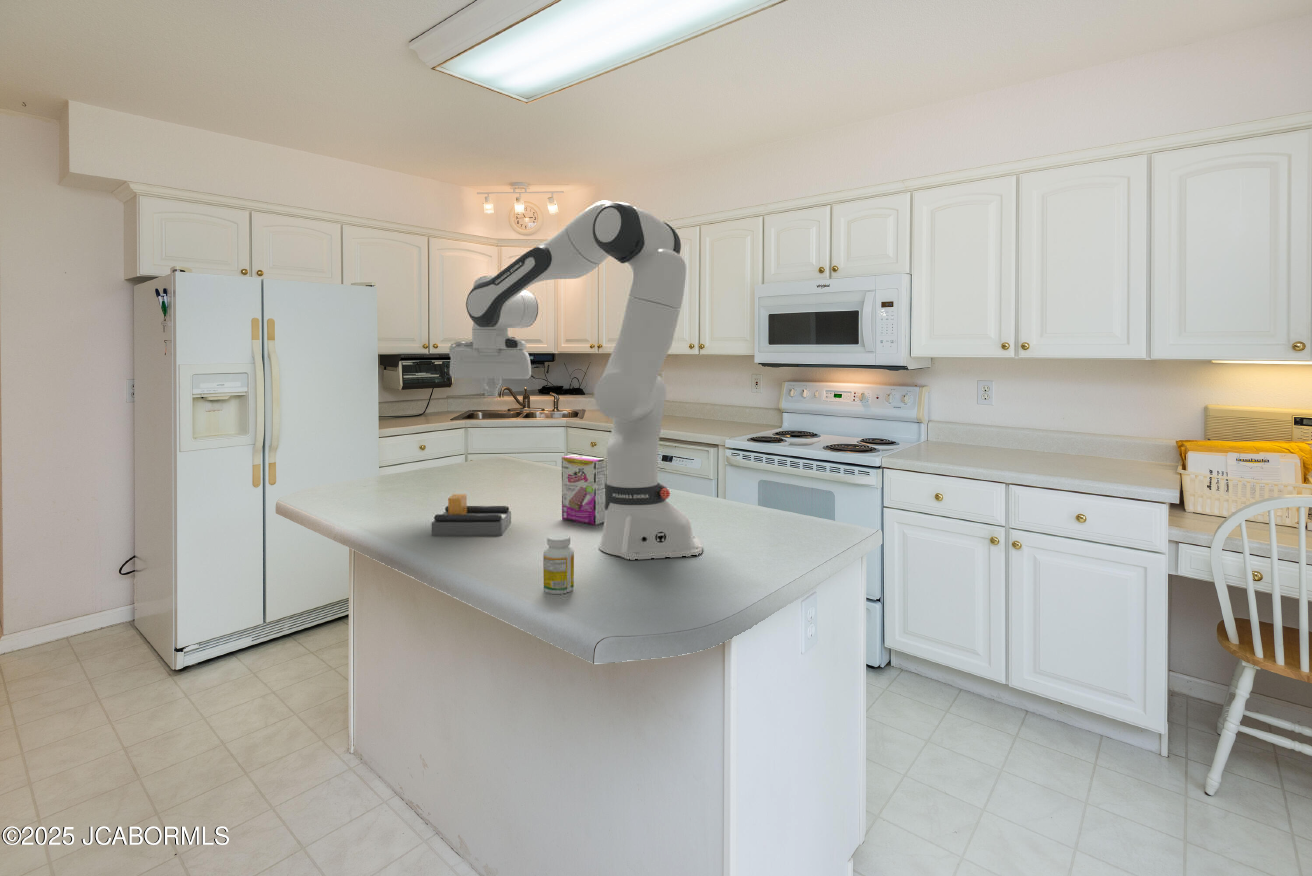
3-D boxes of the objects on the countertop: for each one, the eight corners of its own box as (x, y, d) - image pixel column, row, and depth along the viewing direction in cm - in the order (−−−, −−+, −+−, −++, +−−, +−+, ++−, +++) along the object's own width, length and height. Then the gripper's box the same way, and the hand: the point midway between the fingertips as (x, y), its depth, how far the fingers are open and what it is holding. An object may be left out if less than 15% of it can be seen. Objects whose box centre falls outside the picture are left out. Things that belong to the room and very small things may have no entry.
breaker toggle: (466, 512, 156) (466, 494, 155) (461, 517, 151) (461, 498, 150) (454, 512, 156) (453, 494, 155) (448, 517, 151) (448, 498, 150)
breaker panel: (511, 522, 160) (511, 504, 160) (501, 535, 148) (501, 516, 148) (446, 522, 159) (445, 504, 159) (431, 535, 148) (431, 516, 147)
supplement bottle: (557, 597, 109) (556, 542, 108) (537, 590, 113) (536, 537, 112) (580, 589, 114) (580, 536, 112) (560, 582, 117) (559, 531, 116)
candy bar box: (560, 519, 164) (560, 456, 162) (573, 516, 168) (573, 454, 166) (595, 526, 158) (595, 460, 156) (607, 522, 162) (607, 457, 160)
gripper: (445, 340, 159) (446, 396, 161) (528, 342, 160) (528, 397, 162) (452, 341, 165) (453, 395, 167) (532, 342, 166) (532, 396, 168)
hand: (491, 396), depth 164 cm, fingers closed
